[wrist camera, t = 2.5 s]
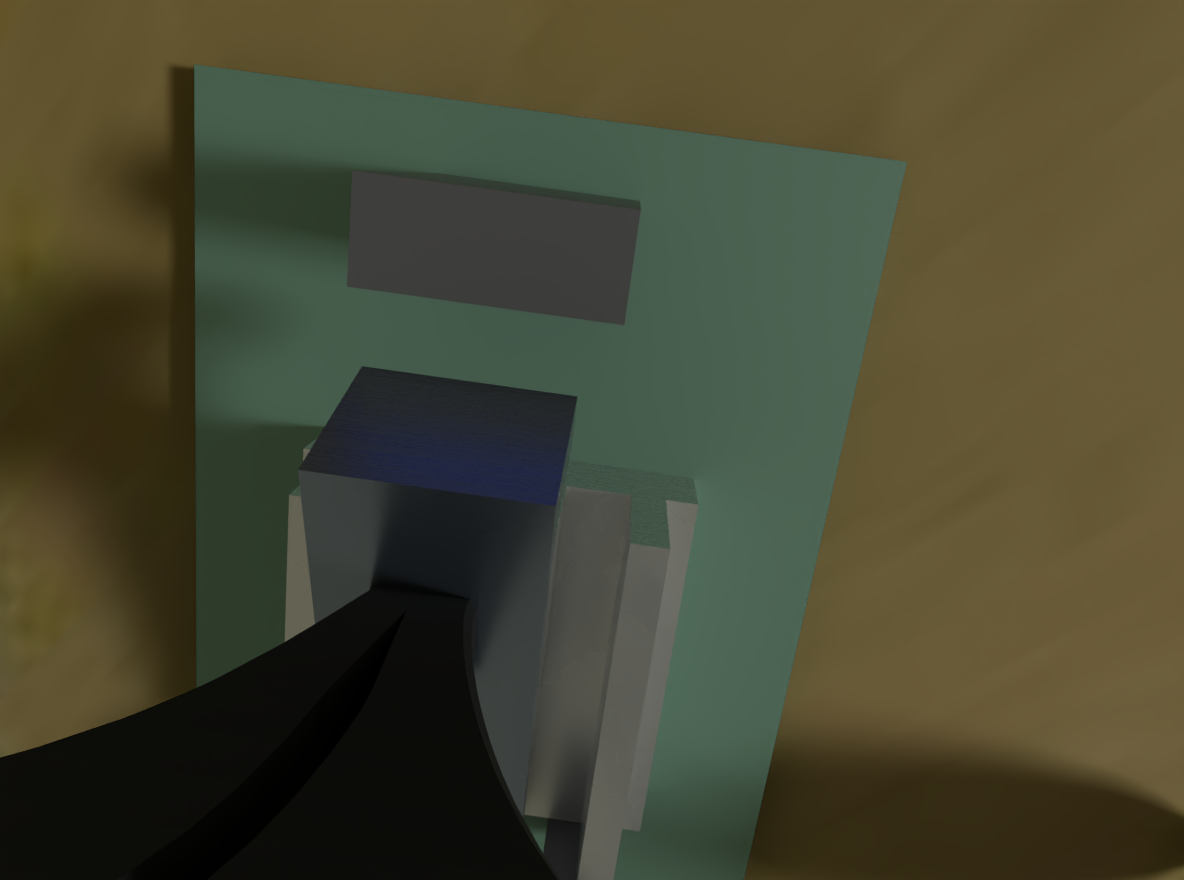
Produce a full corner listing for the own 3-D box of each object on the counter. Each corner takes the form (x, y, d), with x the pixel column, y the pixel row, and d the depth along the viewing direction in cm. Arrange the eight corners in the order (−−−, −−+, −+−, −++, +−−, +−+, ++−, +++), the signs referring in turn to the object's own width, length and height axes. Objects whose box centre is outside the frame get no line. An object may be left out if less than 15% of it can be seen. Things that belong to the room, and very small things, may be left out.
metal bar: (521, 875, 19) (499, 1010, 17) (387, 855, 19) (348, 988, 17) (577, 396, 12) (552, 523, 10) (361, 366, 12) (288, 485, 10)
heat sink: (639, 784, 21) (639, 917, 17) (316, 737, 21) (245, 860, 17) (693, 478, 19) (707, 554, 15) (330, 426, 19) (252, 489, 15)
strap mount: (586, 834, 22) (569, 1049, 16) (357, 800, 22) (265, 1004, 16) (685, 206, 17) (706, 219, 12) (396, 167, 17) (287, 161, 12)
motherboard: (722, 934, 23) (725, 960, 23) (211, 859, 23) (196, 882, 23) (895, 162, 17) (906, 161, 17) (213, 69, 18) (194, 64, 17)
